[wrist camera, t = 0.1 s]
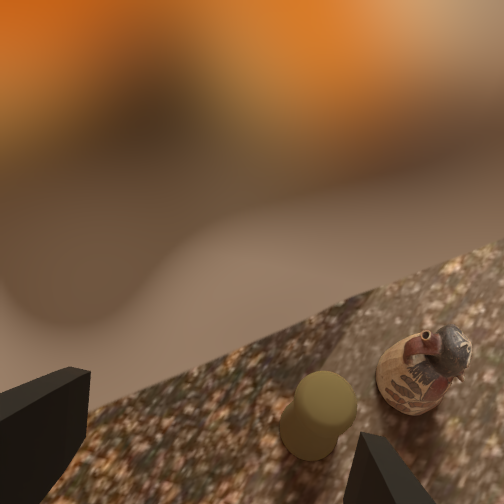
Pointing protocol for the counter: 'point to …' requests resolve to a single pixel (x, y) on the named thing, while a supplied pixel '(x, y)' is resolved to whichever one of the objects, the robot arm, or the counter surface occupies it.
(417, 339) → the figurine
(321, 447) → the olive pawn piece
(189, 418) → the counter surface
